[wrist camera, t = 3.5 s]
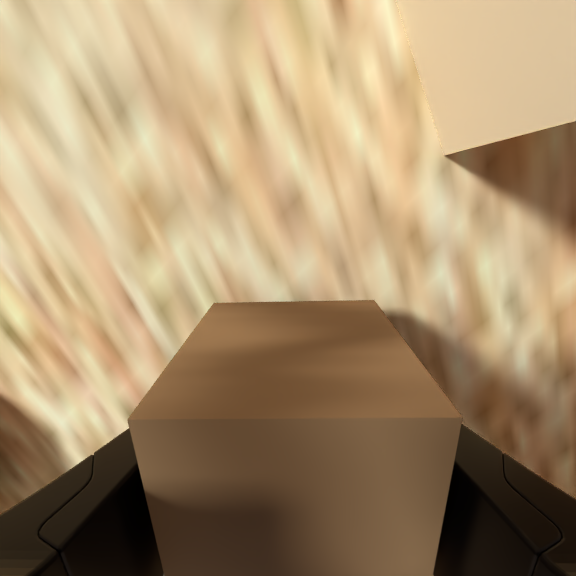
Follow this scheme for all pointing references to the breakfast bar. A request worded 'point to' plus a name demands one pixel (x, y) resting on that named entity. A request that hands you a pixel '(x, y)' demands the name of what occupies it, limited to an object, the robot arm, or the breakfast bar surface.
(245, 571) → the walnut cube
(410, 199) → the breakfast bar surface
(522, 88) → the cream cube
